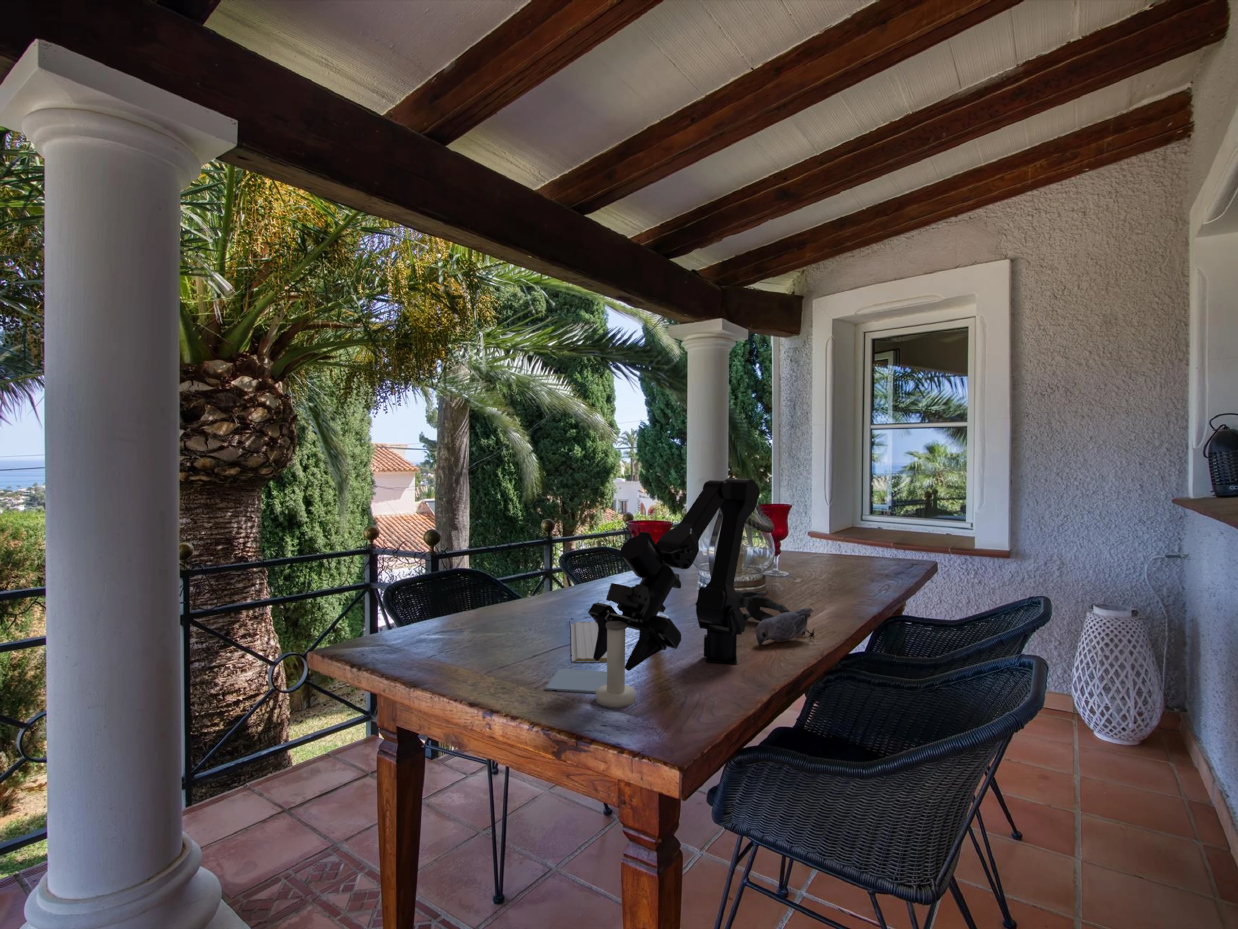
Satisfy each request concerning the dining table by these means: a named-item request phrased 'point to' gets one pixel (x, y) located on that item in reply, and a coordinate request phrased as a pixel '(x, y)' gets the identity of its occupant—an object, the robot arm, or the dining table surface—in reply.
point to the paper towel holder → (615, 669)
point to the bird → (784, 626)
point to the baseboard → (584, 641)
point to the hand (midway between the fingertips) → (610, 664)
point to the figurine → (757, 605)
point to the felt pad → (577, 680)
